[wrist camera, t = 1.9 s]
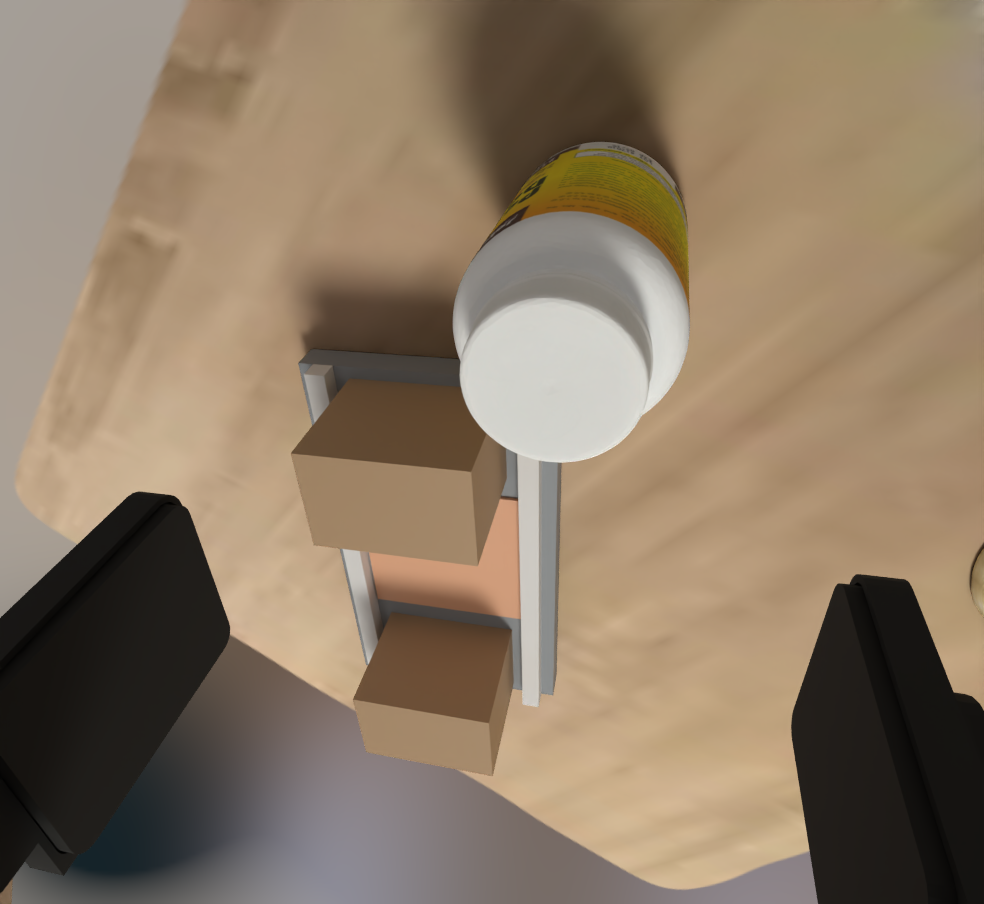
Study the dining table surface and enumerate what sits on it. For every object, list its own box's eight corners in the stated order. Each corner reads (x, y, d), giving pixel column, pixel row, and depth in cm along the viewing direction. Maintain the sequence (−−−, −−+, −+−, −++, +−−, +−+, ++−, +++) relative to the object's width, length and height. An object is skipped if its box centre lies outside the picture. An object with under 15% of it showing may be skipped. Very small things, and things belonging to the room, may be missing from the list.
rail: (311, 348, 27) (230, 435, 22) (563, 366, 25) (536, 465, 20) (374, 646, 38) (328, 750, 33) (556, 675, 36) (536, 790, 31)
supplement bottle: (552, 105, 20) (469, 204, 12) (722, 182, 21) (750, 328, 13) (489, 271, 24) (392, 433, 16) (636, 335, 24) (615, 529, 16)
